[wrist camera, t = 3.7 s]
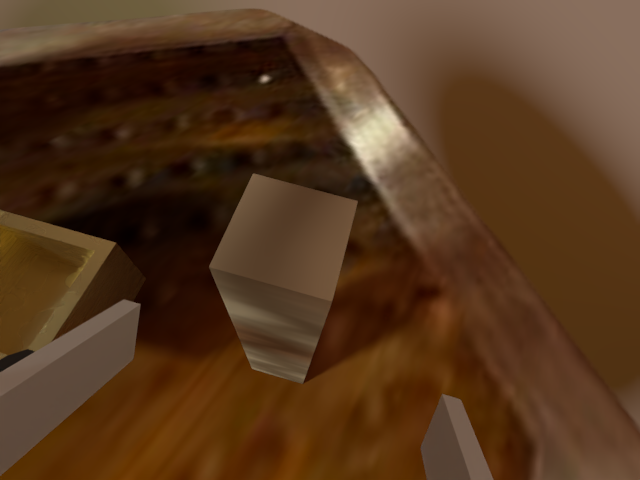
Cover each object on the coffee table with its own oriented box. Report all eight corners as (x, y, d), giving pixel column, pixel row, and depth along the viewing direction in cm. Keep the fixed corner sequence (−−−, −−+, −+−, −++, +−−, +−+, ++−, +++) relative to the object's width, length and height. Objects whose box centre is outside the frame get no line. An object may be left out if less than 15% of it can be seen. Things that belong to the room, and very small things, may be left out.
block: (252, 368, 26) (208, 266, 11) (269, 319, 28) (253, 173, 13) (302, 383, 26) (332, 301, 11) (316, 332, 28) (357, 201, 13)
